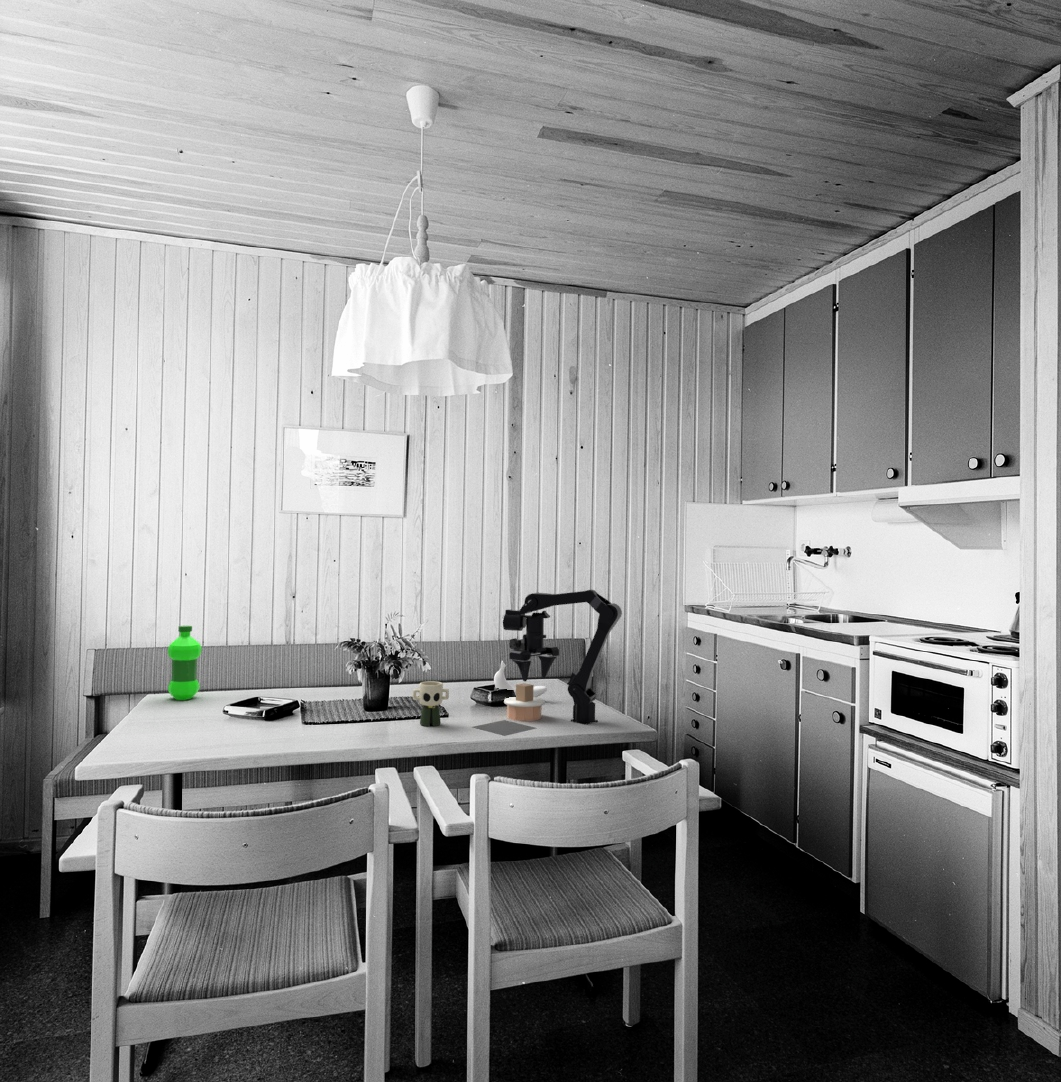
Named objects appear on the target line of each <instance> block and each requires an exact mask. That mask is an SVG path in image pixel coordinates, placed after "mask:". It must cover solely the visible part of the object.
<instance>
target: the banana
mask: <svg viewBox="0 0 1061 1082" xmlns="http://www.w3.org/2000/svg"><path fill="white" fill-rule="evenodd" d="M506 667H507V664H505V663H504V661H503V660H501V663H500V667H499V670H497V671H496V673H495V674H494V677H493V682H494V686H495V688H496V689H497V688H499V689H507V690H514V692H515V694H516V686H513V685H511V684H510V683H509V682H508V680H507V679H506V676H505V671H504V670H505V668H506ZM547 691H548V687H547V686H544V685H535V686H534V688H533V697H537V698H539V697H540V696H543V695H544V694H545V693H546V692H547Z"/></svg>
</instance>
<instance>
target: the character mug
mask: <svg viewBox="0 0 1061 1082" xmlns="http://www.w3.org/2000/svg"><path fill="white" fill-rule="evenodd" d="M417 693H419V694H418V695H419V696H417ZM443 693H445V696H444V695H443ZM449 693H450V690H449V689H448V688H444V683H443V682H440V681H434V680H433V681H432V680H431V681H430V680H429V681H422V682H420V683H419V687H418V688H413V690H412V700H413V701H418V702H419V704H420V705H421V706H422V708H421V713H420V719H419V724H420V726H423V727H430V725H432V727H437V726H440V725H441V713H440V707H439V706H440V705H442V702H443V700H449V698H450V697H449V696H450V694H449Z"/></svg>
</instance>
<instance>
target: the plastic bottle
mask: <svg viewBox="0 0 1061 1082" xmlns="http://www.w3.org/2000/svg"><path fill="white" fill-rule="evenodd" d="M177 629H178V633H179V636H178V637H176V638H175V639H174V640H173V642H171V643H170V644H169V646H168V647H167V648H168V649H167V654H168V655H167V656H168V657H169V658H170V659H171V677H170V679H171V681H170V682H169V683H168V686H167V691H168V694H170V696H172V697H173V698H174V699H175V700H176V701H177V700H178V701H185V700H192V698H194V696H195V695H196V694H198V693H199V690H200V683H199V681H198V679H197V676H198V674H197V672H198V669H197V668H198V658H200V656H201V654H202V646H201V644H200V642H198V640H196V639H195V638H194V637H192V636H191V632H192V631H193V626H192V625H179V626H178V628H177Z"/></svg>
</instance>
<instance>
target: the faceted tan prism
mask: <svg viewBox="0 0 1061 1082" xmlns="http://www.w3.org/2000/svg"><path fill="white" fill-rule="evenodd" d="M542 707H543V705H541V706H536V707H516V706H510V705H507V704H506V717H507V719H509V720H513V721H519V722H520V721H522V722H530V721H531V722H534V721H537V720H540V719H542Z"/></svg>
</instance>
